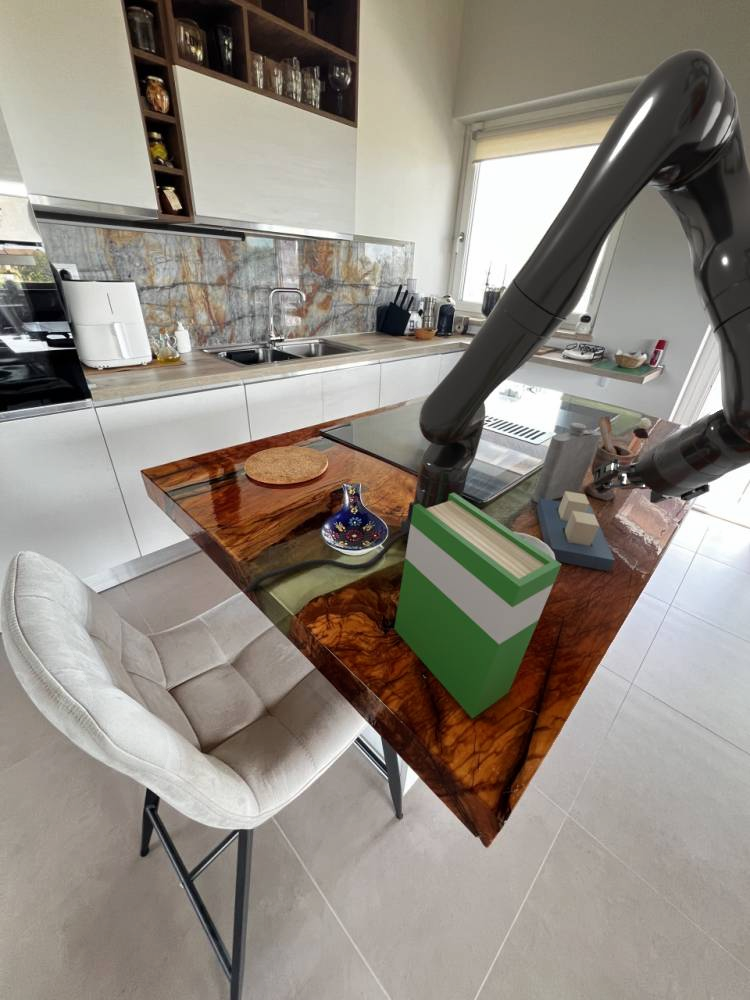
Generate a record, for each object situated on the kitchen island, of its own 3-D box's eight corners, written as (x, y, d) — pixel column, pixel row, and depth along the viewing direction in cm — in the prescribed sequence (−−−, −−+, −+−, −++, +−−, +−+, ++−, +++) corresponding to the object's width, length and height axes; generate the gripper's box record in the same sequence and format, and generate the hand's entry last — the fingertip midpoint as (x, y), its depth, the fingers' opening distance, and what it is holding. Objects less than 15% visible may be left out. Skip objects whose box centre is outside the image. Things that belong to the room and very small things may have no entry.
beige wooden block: (557, 529, 97) (568, 500, 93) (554, 519, 101) (565, 490, 96) (577, 533, 96) (589, 504, 92) (573, 522, 100) (585, 494, 96)
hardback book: (394, 628, 67) (413, 505, 55) (428, 611, 71) (453, 492, 59) (472, 718, 55) (519, 586, 43) (508, 692, 59) (561, 564, 47)
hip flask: (539, 504, 106) (563, 431, 96) (527, 496, 109) (550, 425, 98) (580, 493, 113) (607, 424, 102) (568, 486, 116) (594, 419, 105)
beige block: (585, 556, 89) (599, 525, 84) (564, 552, 89) (576, 521, 85) (581, 544, 92) (594, 514, 88) (560, 540, 93) (572, 510, 89)
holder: (547, 559, 87) (552, 548, 85) (536, 508, 104) (539, 497, 103) (609, 571, 85) (615, 560, 83) (587, 517, 103) (591, 507, 101)
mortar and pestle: (565, 486, 116) (591, 419, 105) (578, 478, 121) (603, 412, 111) (608, 504, 109) (639, 433, 99) (619, 494, 114) (650, 426, 104)
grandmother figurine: (618, 449, 143) (633, 414, 136) (626, 448, 144) (642, 414, 138) (636, 459, 137) (652, 423, 130) (644, 458, 138) (661, 422, 131)
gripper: (745, 443, 54) (671, 479, 70) (631, 426, 56) (584, 464, 72) (744, 497, 53) (669, 522, 68) (627, 477, 55) (579, 505, 70)
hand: (625, 492), depth 70 cm, fingers open, 8 cm apart
